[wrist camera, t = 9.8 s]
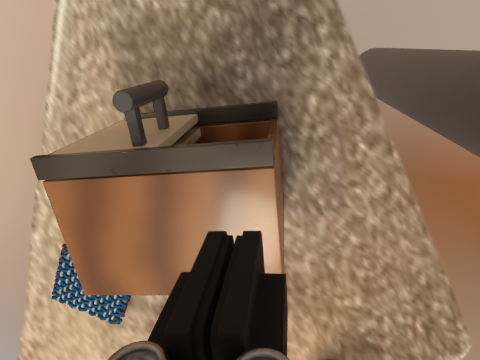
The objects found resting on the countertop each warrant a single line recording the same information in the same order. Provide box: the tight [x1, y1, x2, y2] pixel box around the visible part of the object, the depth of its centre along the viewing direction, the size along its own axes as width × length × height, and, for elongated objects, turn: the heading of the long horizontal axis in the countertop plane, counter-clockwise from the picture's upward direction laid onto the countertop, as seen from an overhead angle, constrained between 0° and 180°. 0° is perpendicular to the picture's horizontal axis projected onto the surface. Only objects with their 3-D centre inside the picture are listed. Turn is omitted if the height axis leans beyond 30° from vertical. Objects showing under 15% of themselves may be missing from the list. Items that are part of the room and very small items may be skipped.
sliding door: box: [48, 80, 198, 155], centre depth 27 cm, size 8×5×13 cm, turn 96°
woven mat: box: [52, 244, 131, 324], centre depth 43 cm, size 10×11×2 cm
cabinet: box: [30, 101, 284, 295], centre depth 29 cm, size 16×12×14 cm
